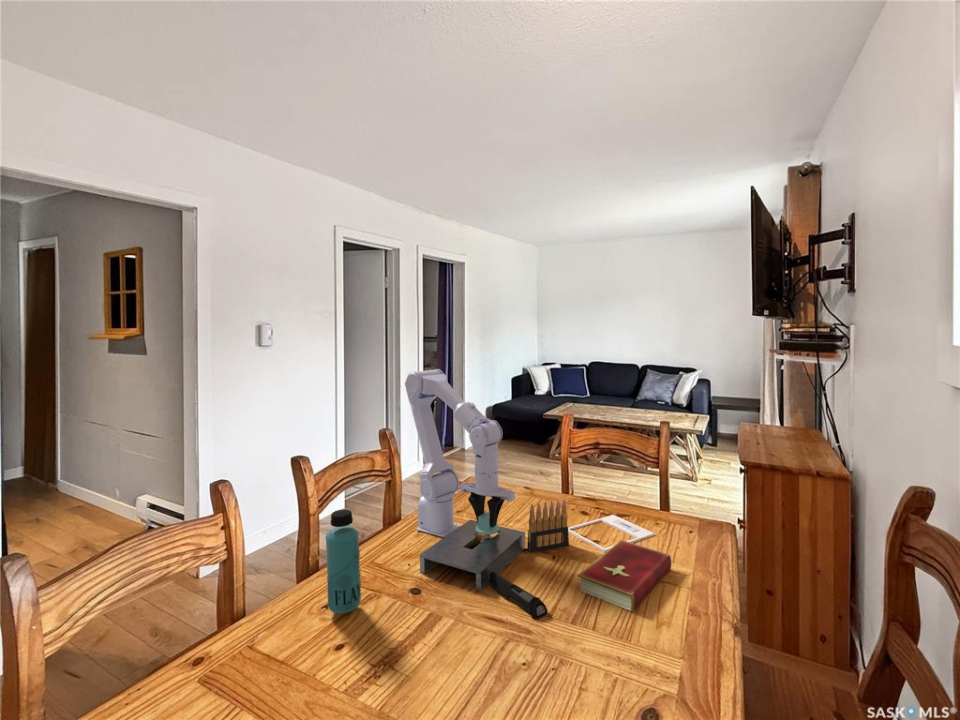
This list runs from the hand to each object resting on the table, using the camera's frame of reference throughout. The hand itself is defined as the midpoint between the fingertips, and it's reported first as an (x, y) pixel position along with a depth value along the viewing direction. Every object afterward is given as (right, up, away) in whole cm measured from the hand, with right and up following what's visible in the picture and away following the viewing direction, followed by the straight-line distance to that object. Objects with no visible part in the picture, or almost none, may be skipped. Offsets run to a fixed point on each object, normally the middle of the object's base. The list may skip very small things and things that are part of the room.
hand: (487, 524), depth 117 cm
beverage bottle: (-28, -9, -25) cm, 39 cm away
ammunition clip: (+15, -6, +1) cm, 17 cm away
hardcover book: (+30, -8, -14) cm, 34 cm away
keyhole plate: (-3, -7, -5) cm, 9 cm away
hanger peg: (0, -5, 0) cm, 5 cm away
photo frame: (+33, -6, +9) cm, 35 cm away
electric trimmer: (+5, -8, -21) cm, 24 cm away
